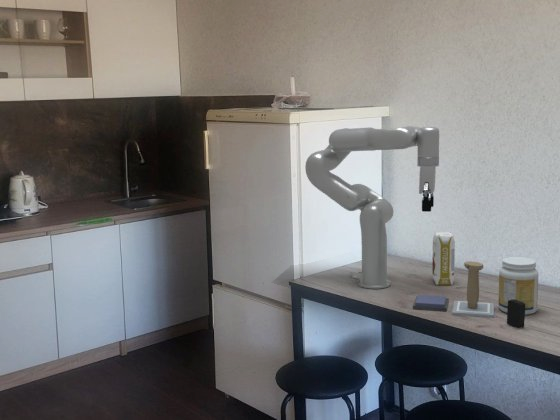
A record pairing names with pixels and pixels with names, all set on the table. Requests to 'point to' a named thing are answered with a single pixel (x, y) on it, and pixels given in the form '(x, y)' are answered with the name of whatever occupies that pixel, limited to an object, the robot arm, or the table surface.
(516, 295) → the supplement tub
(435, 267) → the juice carton
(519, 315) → the ink cartridge
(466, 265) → the handle
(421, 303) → the ink pad
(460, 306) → the marked board
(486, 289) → the table surface
